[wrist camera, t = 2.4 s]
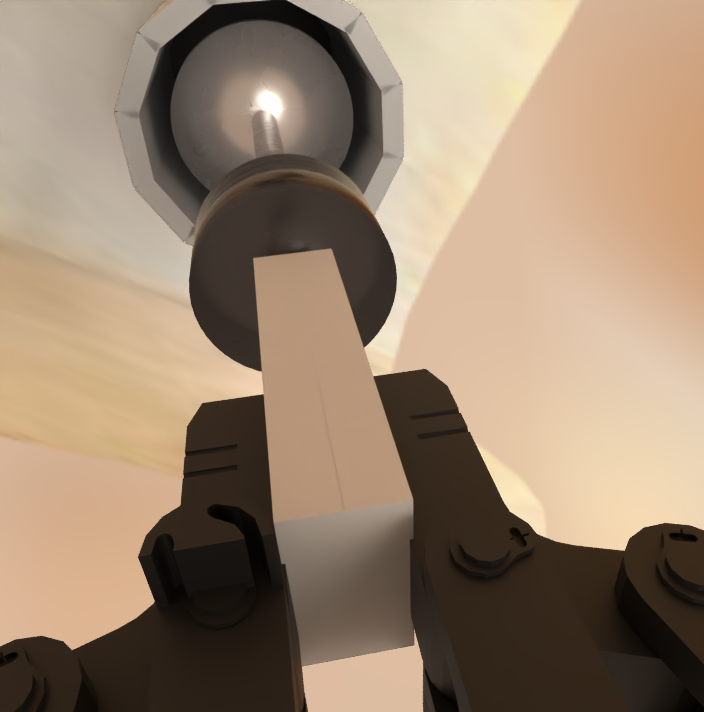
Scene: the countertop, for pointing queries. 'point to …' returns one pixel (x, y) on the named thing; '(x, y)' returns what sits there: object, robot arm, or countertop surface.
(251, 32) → the plunger
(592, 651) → the robot arm
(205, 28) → the press beaker
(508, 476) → the countertop surface
